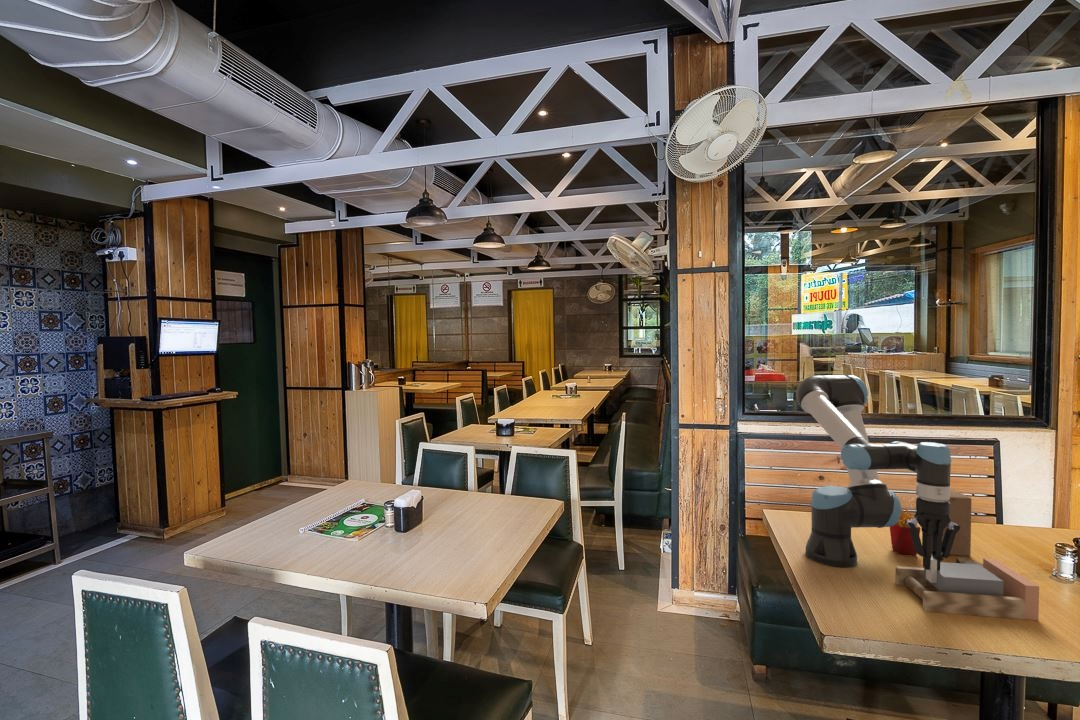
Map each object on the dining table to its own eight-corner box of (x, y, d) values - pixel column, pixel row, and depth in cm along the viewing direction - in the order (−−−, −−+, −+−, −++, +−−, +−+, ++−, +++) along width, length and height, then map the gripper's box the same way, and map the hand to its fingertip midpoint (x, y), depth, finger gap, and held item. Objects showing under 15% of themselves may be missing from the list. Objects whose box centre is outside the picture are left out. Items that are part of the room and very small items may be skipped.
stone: (1018, 582, 152) (1018, 572, 152) (1010, 590, 147) (1010, 580, 147) (956, 564, 164) (957, 555, 164) (947, 571, 159) (947, 562, 159)
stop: (1024, 619, 132) (1025, 585, 131) (982, 588, 148) (983, 558, 147) (1038, 620, 131) (1039, 586, 131) (994, 589, 147) (995, 559, 147)
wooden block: (971, 556, 169) (972, 498, 168) (937, 554, 171) (938, 496, 170) (953, 544, 179) (954, 489, 178) (921, 542, 181) (922, 488, 180)
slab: (943, 594, 138) (943, 576, 138) (923, 577, 148) (924, 561, 147) (1003, 599, 135) (1003, 581, 135) (978, 581, 145) (979, 564, 145)
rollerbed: (925, 611, 136) (926, 593, 136) (895, 582, 152) (895, 566, 152) (1024, 619, 132) (1025, 600, 131) (982, 588, 148) (983, 571, 148)
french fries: (921, 556, 170) (921, 512, 169) (896, 556, 170) (896, 513, 169) (903, 546, 178) (903, 504, 178) (879, 546, 179) (880, 504, 178)
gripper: (913, 501, 139) (912, 584, 140) (967, 503, 137) (965, 589, 138) (900, 493, 147) (899, 572, 147) (951, 495, 144) (949, 576, 145)
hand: (931, 580), depth 142 cm, fingers closed
